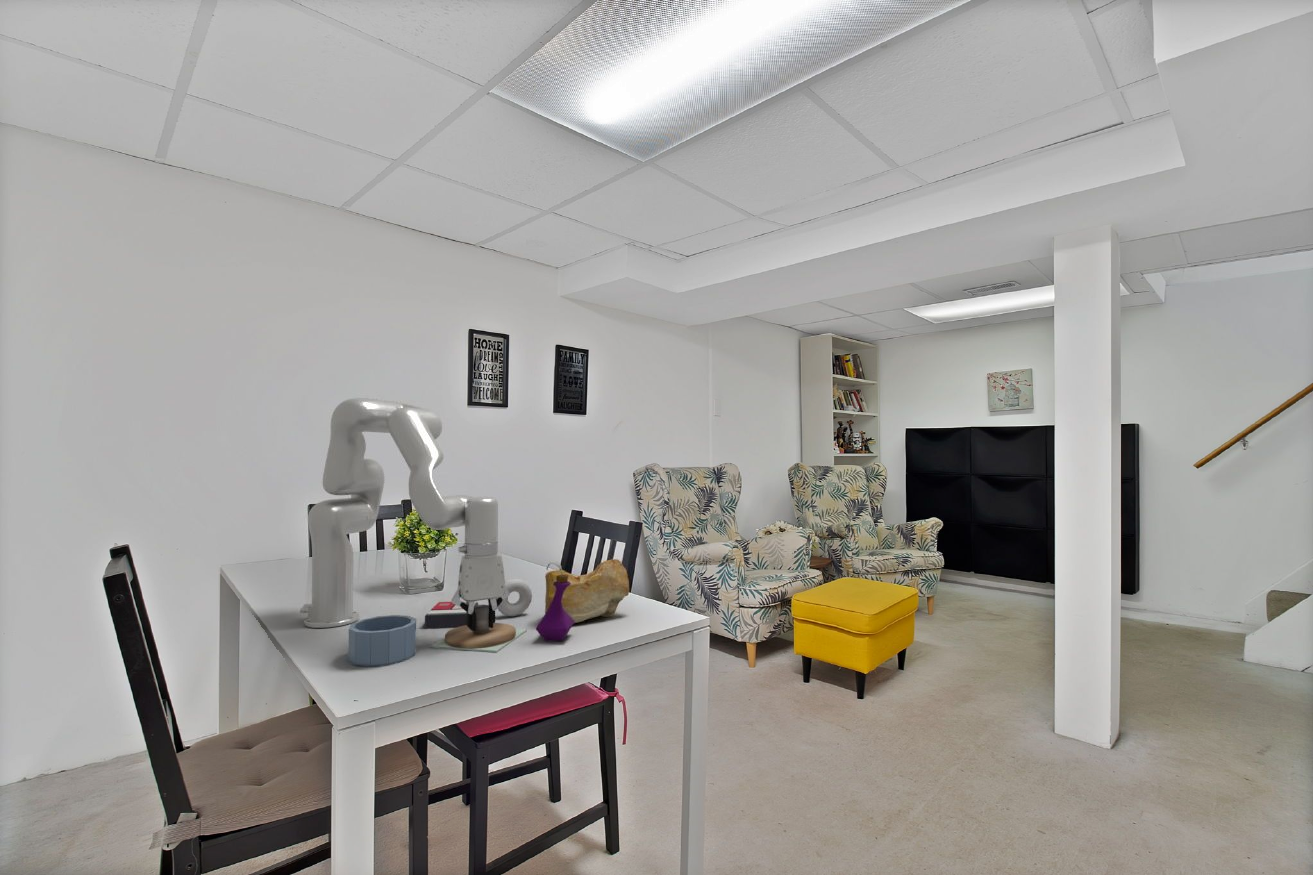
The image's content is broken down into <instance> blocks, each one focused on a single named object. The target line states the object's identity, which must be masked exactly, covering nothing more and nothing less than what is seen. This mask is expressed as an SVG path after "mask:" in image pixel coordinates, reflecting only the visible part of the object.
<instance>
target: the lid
mask: <svg viewBox="0 0 1313 875" xmlns="http://www.w3.org/2000/svg"><path fill="white" fill-rule="evenodd" d="M474 613H475V615H476V619H475V631H471V630H470V629H469V627H467V625H464V626H460V627H457V628H451V629H450V630H448V631H447V632H446V633H445V634H444V638H445V643H446V644H447V645H449V646H452V647H457V648H486V647H492V646H497V645H501V644H504V643H507V642H509V641H511V640H513V639H514V638H515V636H516V629H517V628H516V627H515V626H514V625H510V624H508V623H502V622H495V623H493V628H490V627H489V605H488V604H478V605H476V606H474Z"/></svg>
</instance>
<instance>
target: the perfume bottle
mask: <svg viewBox="0 0 1313 875" xmlns="http://www.w3.org/2000/svg"><path fill="white" fill-rule="evenodd" d="M551 564H552V565H555V566H557V568H559V570H561V571H562V570H563V569H562V565H561V564H560V563H559V561H551V562H548V564H547V566H546V571H549V570H548V569H549V567H550V566H551ZM568 577H569V575H567V574H563V572H562V575H558V576H557V577H556V580H557V581H556V582H554V584H553V585H554V586H555V587H556V592H555V595H554V598H553V600H552V602H551V604H550V607H549V608H548V610H547V612H546V613H545V612H544V613H545V614H544V615H543V617H541V620H540V621H539V623H538V624H537V626H536V627H535V630H536V632H537V633H538V634H539V635H540V636H541V638H542V640H544V642H563V641H562V640H565V638H566V637H567V635H568V634H569V632H570V630H571V629H572V627H573V626H574V624H575V623H574V620H573V619H572V618H571V617H570V616H569V615H568V614H567V613H566V611H565V610H564V609H563V607H562V596H563V593H564V591H565V589H566V588H567V586H570V582H569V581H568Z"/></svg>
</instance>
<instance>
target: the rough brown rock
mask: <svg viewBox="0 0 1313 875" xmlns="http://www.w3.org/2000/svg"><path fill="white" fill-rule="evenodd" d="M562 572H563V574H567V575H569V577H568V581H569V582H570V586H567V588H566V589H565V591H564V593H563V596H562V607H563V609H564V610H565V611H566V613H567V614H568V615H569V616H570V617H571V618H572V619H573V620H574V623H573V624H576V623H580V622H581V623H582V622H584V621H585V620H589V619H593V618H597V617H600V616H601V617H603V618H608V617H609V618H610V617H612V616H613V615H615V613H616V611H617V608H618V606H619V604H620V602H621V601H623V600H624V598H626V597H627V596H628V595H629V593H630V581H629V577H628V572H627V569H626V568H625V567H624V565H623V562H622V561H621V560H620V559H617V558H611V559H609V560H604V561H602V562H600V563H599V564H598V565H597V567H595V569H594V570H593V571H591V572H589V573H586V574H582V575H578V576H576V575H574V574H572V573H569V572H567V571H566V570H563V569H562V571H561V569H555V570H550V571H549V570H548V571H547V572H546V573H545V576H544V577H545V600H544V601H545V608H544V609H545V610H544V613H546V612H547V610H548V608H549V607H550V604H551V602H552V600H553V598H554V595H555V592H556V587H555V586H554V585H553V584H554V582H556V581H557V580H556V577H557V576H558V575H562Z"/></svg>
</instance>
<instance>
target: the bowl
mask: <svg viewBox="0 0 1313 875" xmlns="http://www.w3.org/2000/svg"><path fill="white" fill-rule="evenodd" d="M347 648H348V650H347V651H348V656H347V658H348V661H349V663H350V664H351V665H353V666H356V667H365V668H369V667H370V668H373V667H375V668H376V667H382V666H383V667H384V666H390V665H394V664H398V663H401V662H404V661H407V660H410V659H411V658H413V657H414V656H415V655H416V650H417V618H415V617H413V616H410V615H401V614H400V615H398V614H392V615H381V616H380V615H379V616H374V617H368V618H364V619H360V620H357V621H355V622H352V623H350V625H349V627H348V647H347Z"/></svg>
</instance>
